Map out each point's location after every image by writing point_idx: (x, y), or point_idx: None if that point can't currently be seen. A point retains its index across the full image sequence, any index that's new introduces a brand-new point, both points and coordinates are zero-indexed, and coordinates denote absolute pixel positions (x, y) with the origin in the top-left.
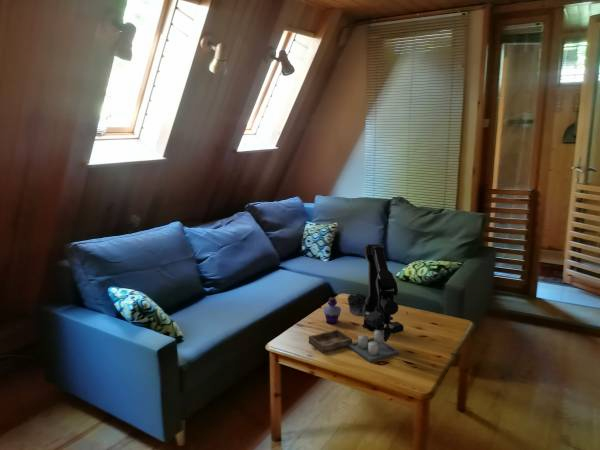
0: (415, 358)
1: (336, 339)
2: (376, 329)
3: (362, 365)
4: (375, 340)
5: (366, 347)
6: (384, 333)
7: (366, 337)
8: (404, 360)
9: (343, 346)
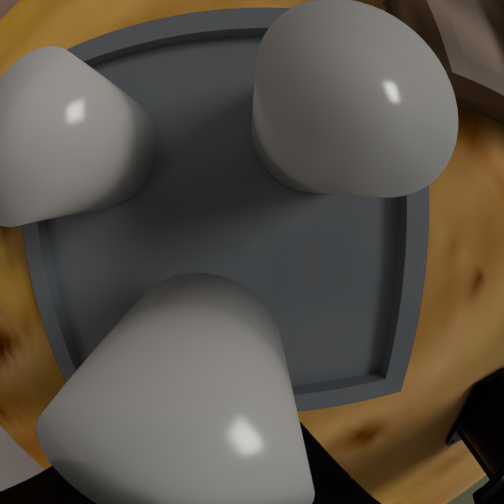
0: (38, 409)
1: (493, 59)
2: (355, 499)
3: (57, 19)
4: (167, 292)
5: (255, 149)
6: (60, 492)
7: (322, 138)
8: (15, 347)
9: (392, 6)
